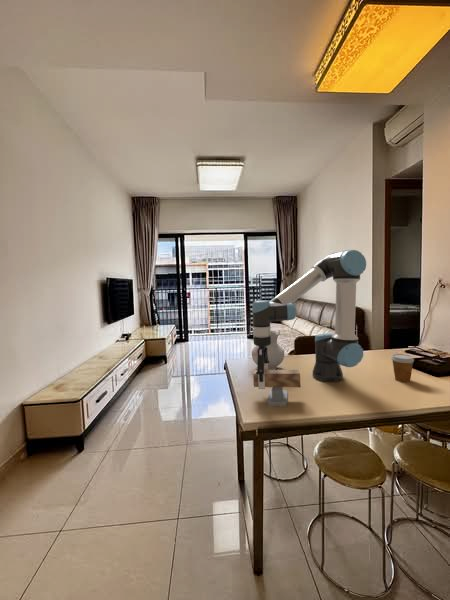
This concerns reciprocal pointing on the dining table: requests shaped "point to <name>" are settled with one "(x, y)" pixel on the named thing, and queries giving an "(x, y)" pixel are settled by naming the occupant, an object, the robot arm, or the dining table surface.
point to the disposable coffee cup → (402, 367)
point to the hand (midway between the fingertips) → (263, 382)
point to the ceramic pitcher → (271, 352)
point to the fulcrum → (277, 397)
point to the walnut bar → (279, 378)
